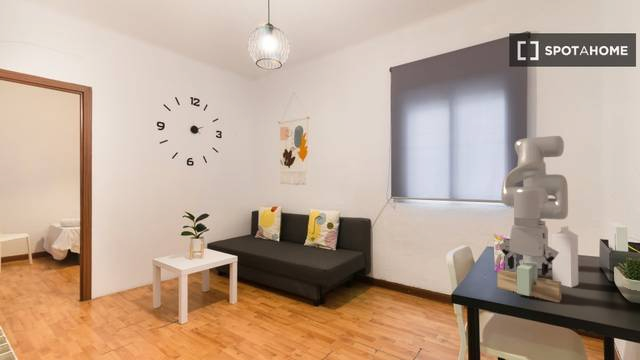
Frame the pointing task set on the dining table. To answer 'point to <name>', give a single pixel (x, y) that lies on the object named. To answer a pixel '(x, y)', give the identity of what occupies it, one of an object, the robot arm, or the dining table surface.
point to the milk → (565, 257)
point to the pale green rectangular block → (526, 277)
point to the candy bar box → (502, 254)
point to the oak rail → (540, 289)
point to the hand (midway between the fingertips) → (527, 271)
